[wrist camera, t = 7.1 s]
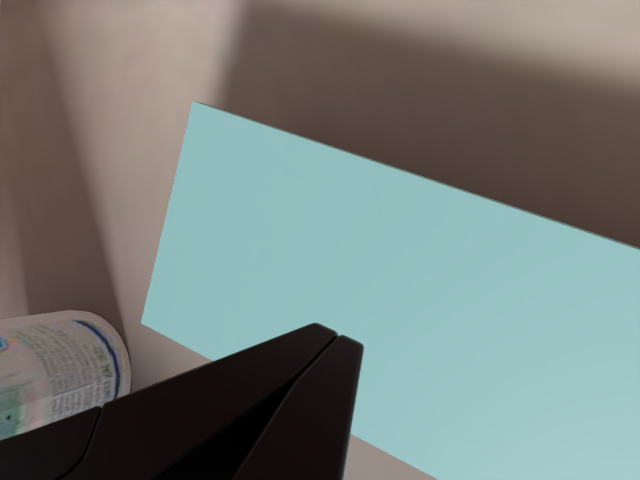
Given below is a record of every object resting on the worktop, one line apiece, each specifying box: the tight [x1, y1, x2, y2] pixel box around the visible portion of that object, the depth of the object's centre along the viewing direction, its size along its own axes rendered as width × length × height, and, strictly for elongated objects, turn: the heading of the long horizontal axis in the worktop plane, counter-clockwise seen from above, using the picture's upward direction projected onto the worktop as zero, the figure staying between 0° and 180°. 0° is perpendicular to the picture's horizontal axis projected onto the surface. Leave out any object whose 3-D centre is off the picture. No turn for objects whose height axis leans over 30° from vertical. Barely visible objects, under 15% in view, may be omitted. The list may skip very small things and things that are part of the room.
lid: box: [141, 101, 640, 480], centre depth 16 cm, size 8×18×1 cm, turn 70°
